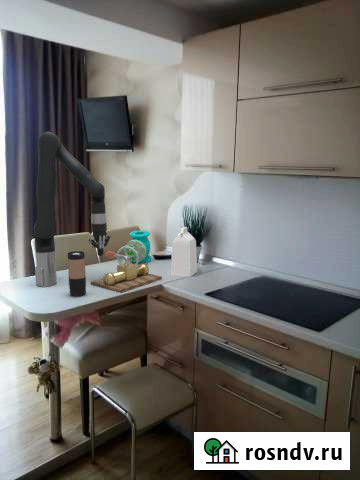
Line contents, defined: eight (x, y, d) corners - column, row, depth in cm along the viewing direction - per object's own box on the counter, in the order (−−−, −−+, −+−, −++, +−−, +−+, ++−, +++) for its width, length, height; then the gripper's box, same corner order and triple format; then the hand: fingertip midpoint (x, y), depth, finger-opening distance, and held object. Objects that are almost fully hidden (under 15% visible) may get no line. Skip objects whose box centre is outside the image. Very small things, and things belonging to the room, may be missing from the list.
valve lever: (126, 261, 198) (126, 255, 198) (105, 256, 208) (105, 251, 208) (130, 260, 201) (130, 254, 200) (109, 255, 210) (109, 250, 210)
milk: (190, 276, 212) (190, 229, 208) (170, 275, 216) (170, 228, 211) (197, 271, 223) (197, 226, 219) (178, 269, 227) (178, 225, 222)
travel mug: (72, 292, 186) (70, 251, 182) (88, 292, 186) (86, 251, 182) (67, 297, 178) (65, 254, 175) (83, 297, 178) (81, 254, 174)
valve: (153, 230, 248) (136, 245, 221) (155, 257, 253) (138, 274, 226) (133, 229, 252) (113, 244, 224) (135, 255, 257) (115, 272, 230)
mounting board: (120, 293, 184) (120, 289, 184) (90, 284, 198) (90, 281, 197) (162, 279, 208) (161, 276, 207) (132, 272, 221) (132, 270, 221)
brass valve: (111, 287, 189) (110, 265, 187) (101, 285, 194) (101, 263, 192) (150, 275, 211) (149, 255, 209) (140, 273, 215) (140, 253, 213)
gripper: (93, 224, 191) (95, 258, 194) (113, 221, 201) (115, 254, 204) (83, 223, 195) (85, 256, 198) (103, 220, 206) (105, 252, 209)
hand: (100, 255), depth 201 cm, fingers closed
